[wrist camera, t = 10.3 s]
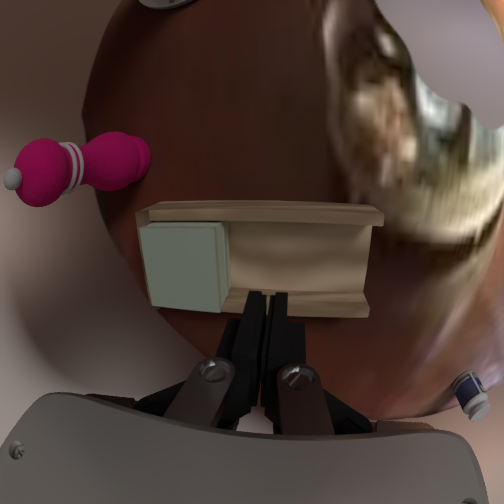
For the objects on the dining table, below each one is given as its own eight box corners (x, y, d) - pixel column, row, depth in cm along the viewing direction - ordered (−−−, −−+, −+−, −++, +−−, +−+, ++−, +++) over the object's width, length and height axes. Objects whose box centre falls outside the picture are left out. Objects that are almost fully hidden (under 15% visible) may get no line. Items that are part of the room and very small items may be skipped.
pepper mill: (150, 190, 33) (28, 235, 14) (107, 181, 33) (-11, 216, 15) (159, 135, 30) (30, 134, 12) (115, 130, 31) (-9, 134, 12)
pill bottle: (448, 392, 38) (463, 427, 29) (456, 373, 36) (475, 409, 27) (469, 385, 37) (485, 418, 28) (478, 366, 35) (497, 399, 26)
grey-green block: (164, 214, 32) (139, 228, 27) (228, 214, 31) (214, 228, 25) (172, 282, 36) (152, 305, 30) (232, 286, 34) (220, 312, 29)
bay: (160, 202, 33) (135, 212, 28) (370, 205, 30) (387, 216, 24) (170, 286, 37) (150, 308, 32) (359, 295, 34) (369, 322, 28)
